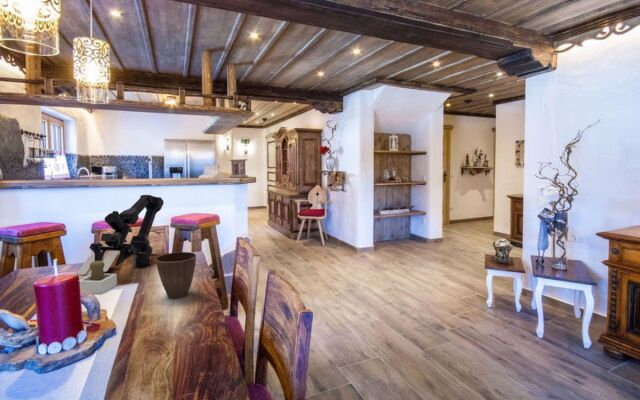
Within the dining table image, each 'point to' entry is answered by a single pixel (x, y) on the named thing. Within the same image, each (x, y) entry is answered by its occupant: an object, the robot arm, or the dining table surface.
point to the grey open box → (99, 284)
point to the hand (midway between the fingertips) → (105, 265)
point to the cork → (97, 271)
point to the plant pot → (176, 273)
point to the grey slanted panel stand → (85, 267)
